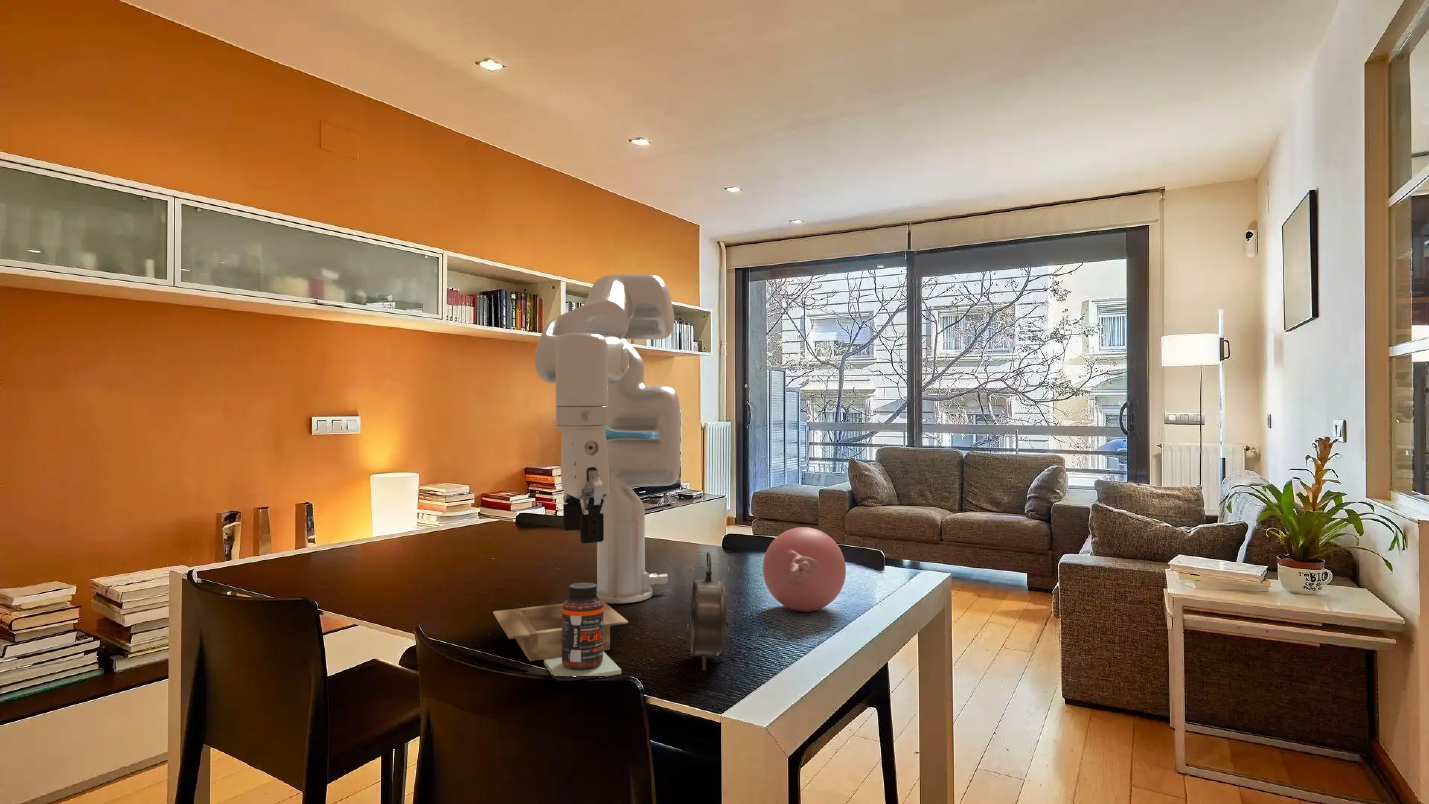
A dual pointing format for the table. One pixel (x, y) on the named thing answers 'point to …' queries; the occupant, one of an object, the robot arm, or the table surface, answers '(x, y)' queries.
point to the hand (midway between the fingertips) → (582, 535)
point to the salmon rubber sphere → (804, 569)
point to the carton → (546, 628)
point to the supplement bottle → (582, 627)
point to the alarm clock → (708, 617)
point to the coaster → (602, 669)
